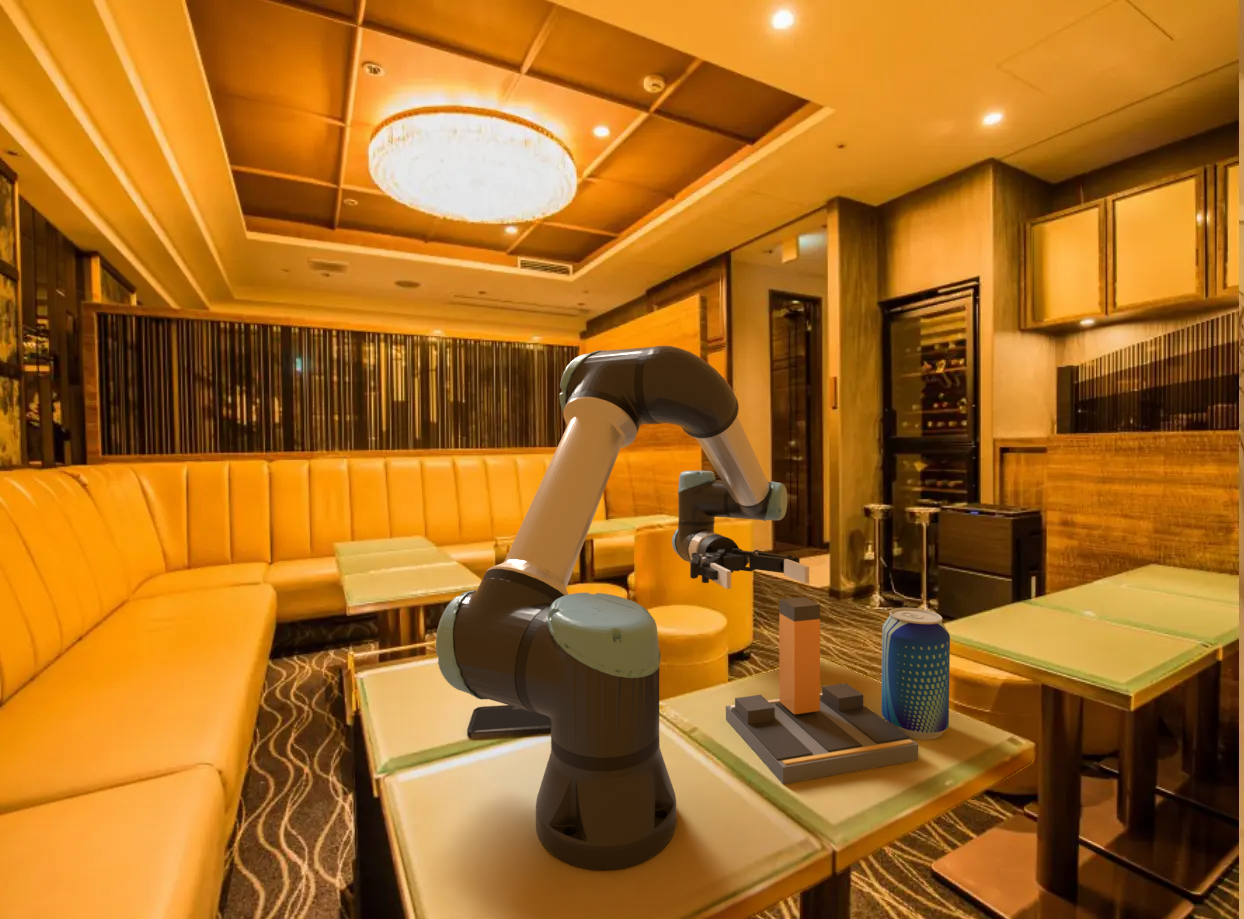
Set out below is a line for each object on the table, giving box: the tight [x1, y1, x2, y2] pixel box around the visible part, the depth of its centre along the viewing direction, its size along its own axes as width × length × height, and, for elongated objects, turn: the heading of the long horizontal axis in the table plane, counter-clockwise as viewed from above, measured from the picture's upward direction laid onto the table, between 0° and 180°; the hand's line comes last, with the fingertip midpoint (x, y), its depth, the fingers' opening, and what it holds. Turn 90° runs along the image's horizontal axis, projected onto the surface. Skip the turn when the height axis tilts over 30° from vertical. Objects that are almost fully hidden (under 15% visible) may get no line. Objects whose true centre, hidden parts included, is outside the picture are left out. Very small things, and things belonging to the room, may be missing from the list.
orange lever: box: [778, 596, 821, 714], centre depth 82 cm, size 4×4×15 cm
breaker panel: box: [725, 682, 919, 785], centre depth 78 cm, size 19×16×4 cm
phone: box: [466, 704, 551, 739], centre depth 84 cm, size 8×1×15 cm
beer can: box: [881, 607, 951, 741], centre depth 81 cm, size 8×8×16 cm
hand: (768, 577), depth 91 cm, fingers open, 13 cm apart
